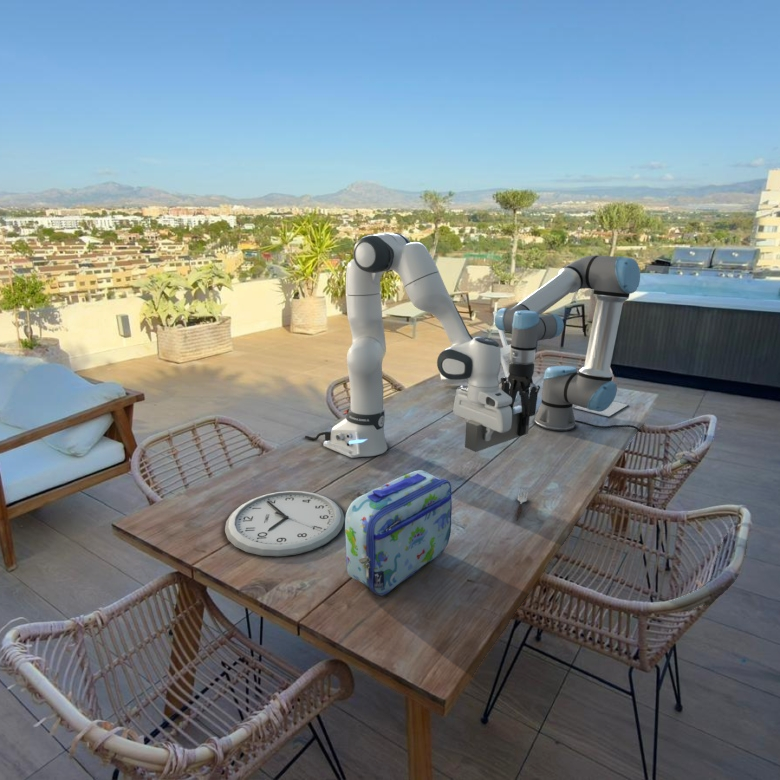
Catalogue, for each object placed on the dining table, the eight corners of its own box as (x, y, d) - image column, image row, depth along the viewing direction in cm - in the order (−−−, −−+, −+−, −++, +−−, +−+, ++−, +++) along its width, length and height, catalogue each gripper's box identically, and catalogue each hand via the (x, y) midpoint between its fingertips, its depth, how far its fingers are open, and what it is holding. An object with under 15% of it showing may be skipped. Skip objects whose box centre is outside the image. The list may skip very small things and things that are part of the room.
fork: (511, 521, 136) (512, 514, 136) (519, 493, 150) (519, 487, 150) (521, 523, 135) (522, 516, 135) (528, 495, 150) (528, 489, 149)
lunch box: (373, 608, 104) (374, 515, 98) (339, 582, 112) (337, 495, 105) (455, 554, 122) (460, 473, 116) (421, 535, 129) (424, 458, 123)
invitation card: (608, 416, 214) (573, 407, 224) (608, 416, 214) (573, 408, 224) (628, 404, 229) (594, 396, 238) (628, 405, 229) (594, 397, 238)
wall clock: (344, 547, 121) (211, 552, 118) (344, 554, 121) (212, 558, 119) (344, 486, 149) (237, 489, 147) (344, 491, 150) (237, 494, 147)
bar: (517, 429, 171) (519, 405, 169) (528, 433, 168) (530, 409, 166) (464, 447, 157) (466, 421, 154) (475, 452, 154) (477, 425, 151)
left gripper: (449, 386, 158) (447, 428, 162) (502, 404, 143) (498, 450, 147) (464, 382, 162) (461, 424, 166) (517, 400, 147) (512, 445, 151)
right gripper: (491, 357, 165) (486, 426, 172) (538, 369, 152) (530, 444, 159) (507, 354, 169) (501, 422, 176) (553, 366, 156) (545, 438, 163)
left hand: (479, 437), depth 156 cm, fingers closed on bar, 4 cm apart
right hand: (515, 432), depth 167 cm, fingers closed on bar, 4 cm apart
